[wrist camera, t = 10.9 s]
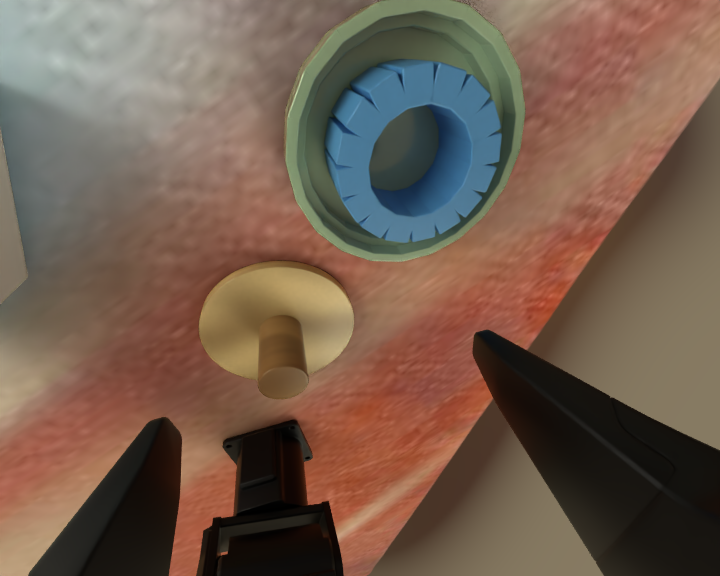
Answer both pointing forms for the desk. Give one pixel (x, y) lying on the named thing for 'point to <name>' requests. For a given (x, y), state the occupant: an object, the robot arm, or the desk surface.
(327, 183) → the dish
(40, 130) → the desk surface
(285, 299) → the tape holder
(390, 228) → the blue gear
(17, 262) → the charger
